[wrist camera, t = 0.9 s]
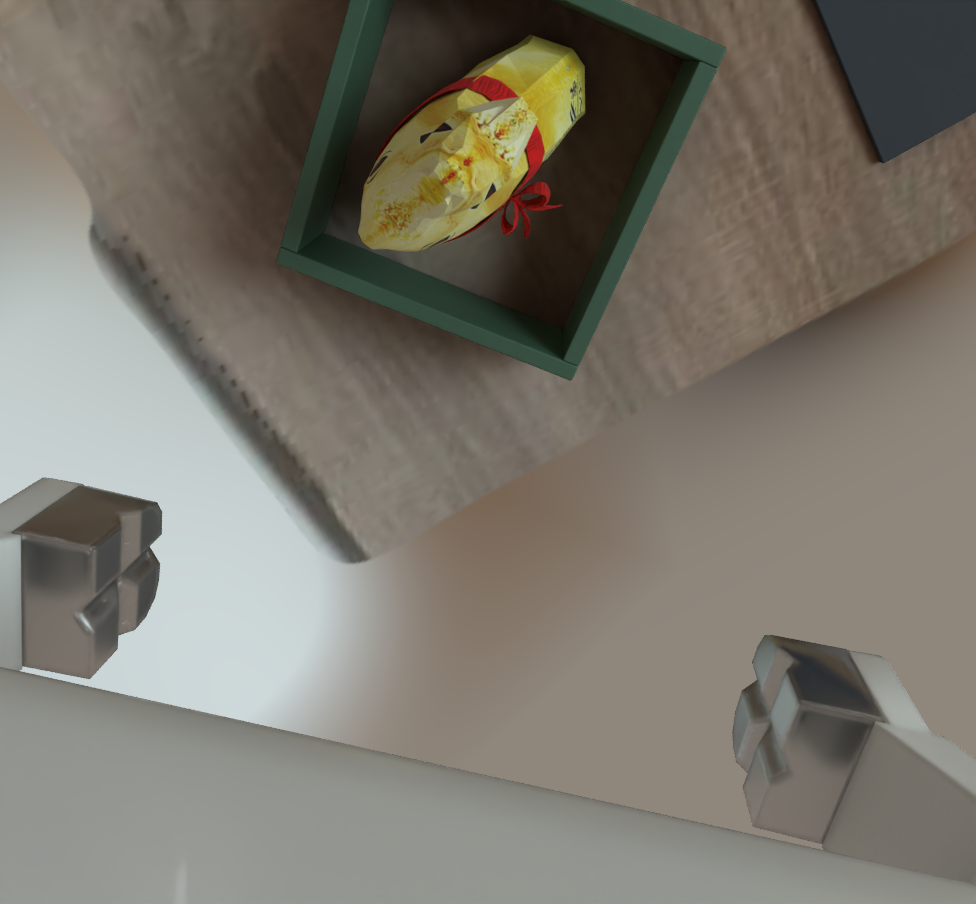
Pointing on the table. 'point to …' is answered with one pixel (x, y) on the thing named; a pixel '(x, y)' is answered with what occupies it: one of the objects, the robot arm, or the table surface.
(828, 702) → the robot arm
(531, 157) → the chocolate bunny
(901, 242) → the table surface
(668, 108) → the crate
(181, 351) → the table surface
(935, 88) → the mat
